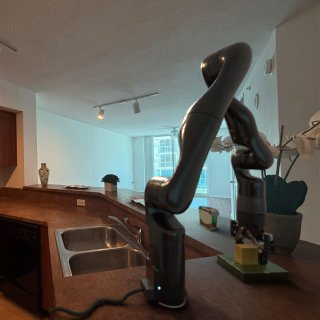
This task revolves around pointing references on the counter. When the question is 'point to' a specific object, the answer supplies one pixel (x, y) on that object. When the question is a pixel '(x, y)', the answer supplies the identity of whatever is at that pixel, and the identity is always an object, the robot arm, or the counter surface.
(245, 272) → the holder base
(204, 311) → the counter surface
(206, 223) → the food container
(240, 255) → the yellow rectangular block
